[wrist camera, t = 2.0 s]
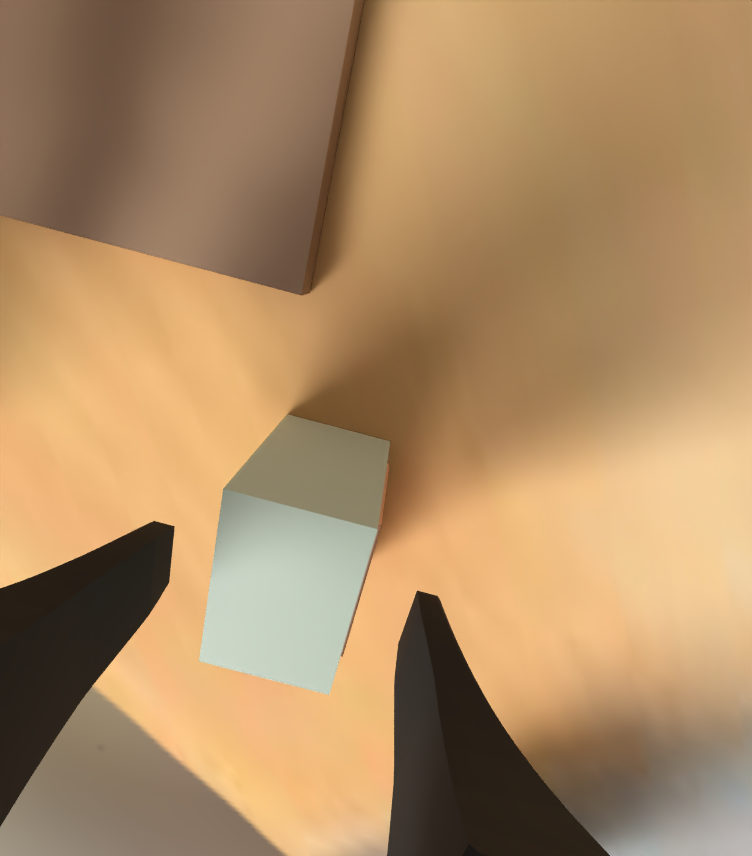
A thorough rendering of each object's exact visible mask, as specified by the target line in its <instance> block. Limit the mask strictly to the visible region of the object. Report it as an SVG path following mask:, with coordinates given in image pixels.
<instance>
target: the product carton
mask: <svg viewBox="0 0 752 856" xmlns="http://www.w3.org/2000/svg"><path fill="white" fill-rule="evenodd" d="M389 448H390V441H387V440H384V439H380V438H376V437H372V436H368V435H365V434H361V433H357V432H353V431H350V430H346V429H342V428H338V427H334V426H331V425H327V424H323V423H319V422H315V421H312V420H308V419H304V418H300V417H296V416H293V415H289V414H287V415H286V416H285V418H284V419H283V420H282V421H281V422H280V423H279V425H278V426H277V427H276V428H275V429H274V430H273V432H272V433H271V434H270V435H269V436H268V437H267V438H266V440H265V441H264V442H263V443H262V444H261V445H260V447H259V448H258V449H257V450H256V451H255V452H254V454H253V455H252V456H251V457H250V458H249V459H248V461H247V462H246V463H245V464H244V465H243V466H242V468H241V469H240V470H239V471H238V472H237V473H236V475H235V476H234V477H233V478H232V479H231V480H230V482H229V483H228V484H227V485H226V486H225V487H224V489H223V495H222V502H221V509H220V516H219V523H218V530H217V538H216V545H215V552H214V559H213V566H212V573H211V580H210V587H209V594H208V601H207V609H206V616H205V623H204V630H203V637H202V644H201V651H200V658H199V661H200V662H204V663H208V664H212V665H215V666H219V667H223V668H227V669H231V670H235V671H239V672H243V673H246V674H250V675H254V676H258V677H262V678H266V679H270V680H273V681H277V682H281V683H285V684H289V685H293V686H297V687H300V688H304V689H308V690H312V691H316V692H320V693H324V694H327V695H329V693H330V690H331V687H332V683H333V680H334V676H335V673H336V670H337V666H338V663H339V659H340V656H343V654H344V650H345V647H346V644H347V640H348V637H349V633H350V630H351V627H352V623H353V620H354V617H355V613H356V610H357V607H358V603H359V600H360V596H361V593H362V590H363V586H364V583H365V580H366V576H367V573H368V570H369V566H370V563H371V559H372V556H373V553H374V549H375V546H376V543H377V539H378V536H379V533H380V529H381V526H382V519H383V511H384V503H385V496H386V488H387V480H388V473H389V464H387V462H388V455H389Z"/></svg>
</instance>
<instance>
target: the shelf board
mask: <svg viewBox="0 0 752 856" xmlns="http://www.w3.org/2000/svg"><path fill="white" fill-rule="evenodd" d="M363 6H364V0H0V215H1V216H5V217H9V218H12V219H16V220H20V221H24V222H28V223H31V224H35V225H39V226H43V227H46V228H50V229H54V230H58V231H61V232H65V233H69V234H73V235H76V236H80V237H84V238H88V239H92V240H95V241H99V242H103V243H107V244H110V245H114V246H118V247H122V248H125V249H129V250H133V251H137V252H140V253H144V254H148V255H152V256H155V257H159V258H163V259H167V260H171V261H174V262H178V263H182V264H186V265H189V266H193V267H197V268H201V269H204V270H208V271H212V272H216V273H219V274H223V275H227V276H231V277H235V278H238V279H242V280H246V281H250V282H253V283H257V284H261V285H265V286H268V287H272V288H276V289H280V290H283V291H287V292H291V293H295V294H299V295H304V294H308V293H310V289H311V284H312V278H313V273H314V268H315V262H316V257H317V252H318V246H319V241H320V236H321V230H322V225H323V219H324V214H325V209H326V203H327V198H328V193H329V187H330V182H331V177H332V171H333V166H334V161H335V155H336V150H337V145H338V139H339V134H340V129H341V123H342V118H343V112H344V107H345V102H346V96H347V91H348V86H349V80H350V75H351V70H352V64H353V59H354V54H355V48H356V43H357V38H358V32H359V27H360V22H361V16H362V11H363Z"/></svg>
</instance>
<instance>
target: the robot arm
mask: <svg viewBox="0 0 752 856" xmlns="http://www.w3.org/2000/svg"><path fill="white" fill-rule="evenodd" d="M174 527H175V526H171V525H167V524H163V523H160V522H156V521H153V522H151V523H149V524H147V525H145V526H142V527H140V528H138V529H136V530H134V531H132V532H130V533H128V534H126V535H124V536H122V537H120V538H118V539H116V540H114V541H112V542H110V543H108V544H106V545H104V546H102V547H100V548H98V549H95V550H93V551H91V552H89V553H87V554H85V555H83V556H81V557H78V558H76V559H74V560H71V561H69V562H67V563H64V564H62V565H60V566H57V567H55V568H53V569H50V570H48V571H46V572H43V573H41V574H38V575H36V576H33V577H31V578H28V579H26V580H23V581H20V582H17V583H15V584H12V585H9V586H6V587H3V588H0V826H1V825H2V823H3V821H4V820H5V818H6V816H7V815H8V813H9V812H10V810H11V808H12V807H13V805H14V803H15V802H16V800H17V798H18V797H19V795H20V794H21V792H22V790H23V789H24V787H25V785H26V784H27V782H28V781H29V779H30V778H31V776H32V774H33V773H34V771H35V770H36V768H37V767H38V765H39V764H40V762H41V760H42V759H43V757H44V756H45V754H46V753H47V751H48V749H49V748H50V746H51V745H52V743H53V742H54V740H55V738H56V737H57V736H58V734H59V733H60V731H61V730H62V728H63V726H64V725H65V724H66V722H67V721H68V719H69V718H70V716H71V715H72V713H73V712H74V710H75V709H76V707H77V706H78V704H79V703H80V701H81V700H82V699H83V698H84V696H85V695H86V693H87V692H88V691H89V690H90V688H91V687H92V685H93V684H94V683H95V682H96V681H97V679H98V678H99V677H100V676H101V674H102V673H103V672H104V671H105V669H106V668H107V667H108V666H109V664H110V663H111V662H112V661H113V659H114V658H115V657H116V656H117V654H118V653H119V652H120V651H121V649H122V648H123V647H124V646H125V644H126V643H127V642H128V641H129V640H130V638H131V637H132V636H133V634H134V633H135V632H136V631H137V629H138V628H139V627H140V626H141V624H142V623H143V622H144V621H145V619H146V618H147V617H148V615H149V614H150V612H151V611H152V609H153V608H154V606H155V605H156V603H157V602H158V600H159V598H160V597H161V595H162V593H163V592H164V590H165V588H166V587H167V585H168V583H169V577H170V567H171V557H172V547H173V537H174ZM387 856H610V855H609V854H608V853H607V852H606V851H605V850H604V849H603V848H602V847H601V846H600V844H599V843H598V842H597V841H596V840H595V839H594V838H593V837H592V836H591V835H590V834H589V833H588V832H587V831H586V830H585V828H584V827H583V826H582V825H581V824H580V823H579V822H578V821H577V820H576V819H575V818H574V817H573V816H572V815H571V813H570V812H569V811H568V810H567V809H566V808H565V807H564V805H563V804H562V803H561V802H560V801H559V799H558V798H557V797H556V796H555V795H554V793H553V792H552V791H551V790H550V789H549V788H548V786H547V785H546V784H545V783H544V781H543V780H542V779H541V778H540V776H539V775H538V774H537V773H536V771H535V770H534V769H533V767H532V766H531V765H530V763H529V762H528V761H527V759H526V758H525V757H524V755H523V754H522V753H521V751H520V750H519V749H518V747H517V746H516V744H515V743H514V742H513V740H512V739H511V737H510V736H509V734H508V733H507V732H506V730H505V729H504V727H503V726H502V724H501V722H500V721H499V719H498V718H497V716H496V715H495V713H494V711H493V710H492V708H491V706H490V705H489V703H488V701H487V699H486V698H485V696H484V694H483V692H482V691H481V689H480V687H479V685H478V683H477V681H476V680H475V678H474V676H473V674H472V672H471V670H470V668H469V666H468V664H467V662H466V660H465V658H464V655H463V653H462V651H461V649H460V647H459V645H458V643H457V640H456V638H455V636H454V634H453V631H452V629H451V627H450V624H449V622H448V619H447V617H446V614H445V612H444V609H443V607H442V604H441V601H440V599H439V598H438V596H435V595H431V594H428V593H424V592H420V591H417V592H416V595H415V598H414V601H413V604H412V607H411V609H410V612H409V615H408V618H407V621H406V624H405V626H404V629H403V632H402V635H401V638H400V641H399V644H398V652H397V661H396V670H395V683H394V786H393V798H392V810H391V821H390V832H389V843H388V853H387Z"/></svg>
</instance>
